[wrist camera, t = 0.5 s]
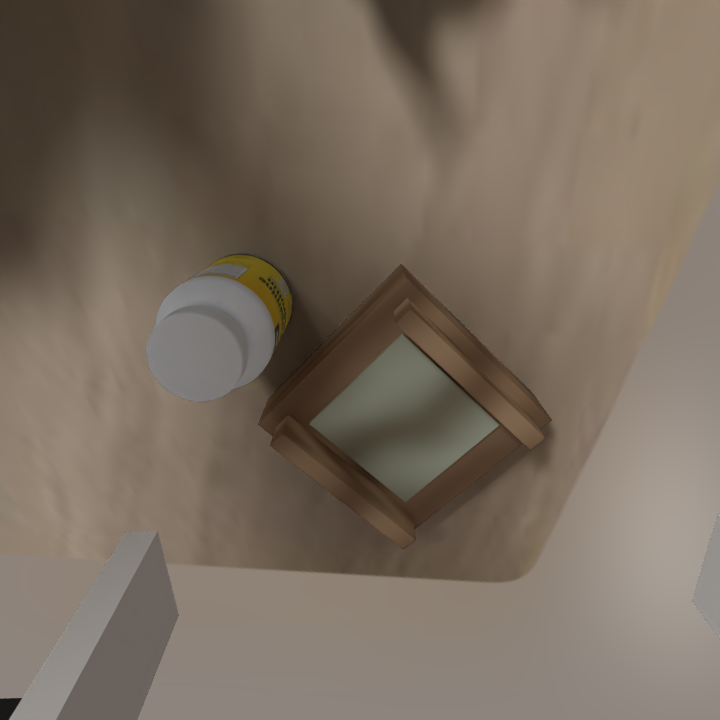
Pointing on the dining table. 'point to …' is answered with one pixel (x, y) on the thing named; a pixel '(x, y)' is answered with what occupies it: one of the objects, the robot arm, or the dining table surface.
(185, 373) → the pill bottle
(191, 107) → the dining table surface
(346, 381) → the wooden tray
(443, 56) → the dining table surface
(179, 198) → the dining table surface
